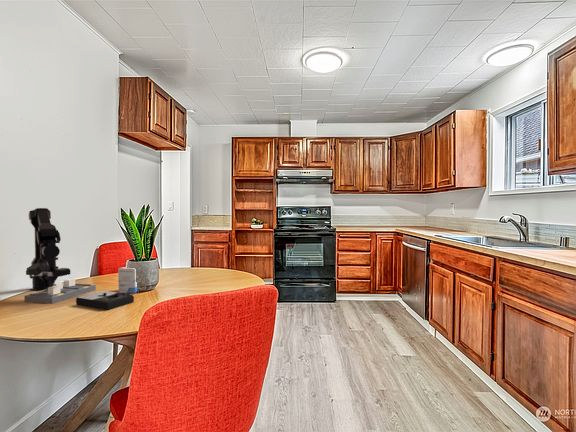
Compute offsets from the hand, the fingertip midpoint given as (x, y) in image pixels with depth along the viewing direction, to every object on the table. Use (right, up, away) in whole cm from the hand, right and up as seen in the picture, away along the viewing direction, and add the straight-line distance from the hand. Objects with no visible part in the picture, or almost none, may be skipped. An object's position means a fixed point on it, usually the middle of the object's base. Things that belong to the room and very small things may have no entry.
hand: (48, 290), depth 154 cm
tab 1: (-1, -1, +8) cm, 8 cm away
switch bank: (+2, -4, +7) cm, 8 cm away
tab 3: (0, -1, +14) cm, 14 cm away
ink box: (+30, -4, +14) cm, 33 cm away
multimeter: (+29, -5, -7) cm, 30 cm away
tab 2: (+3, -1, -1) cm, 3 cm away
